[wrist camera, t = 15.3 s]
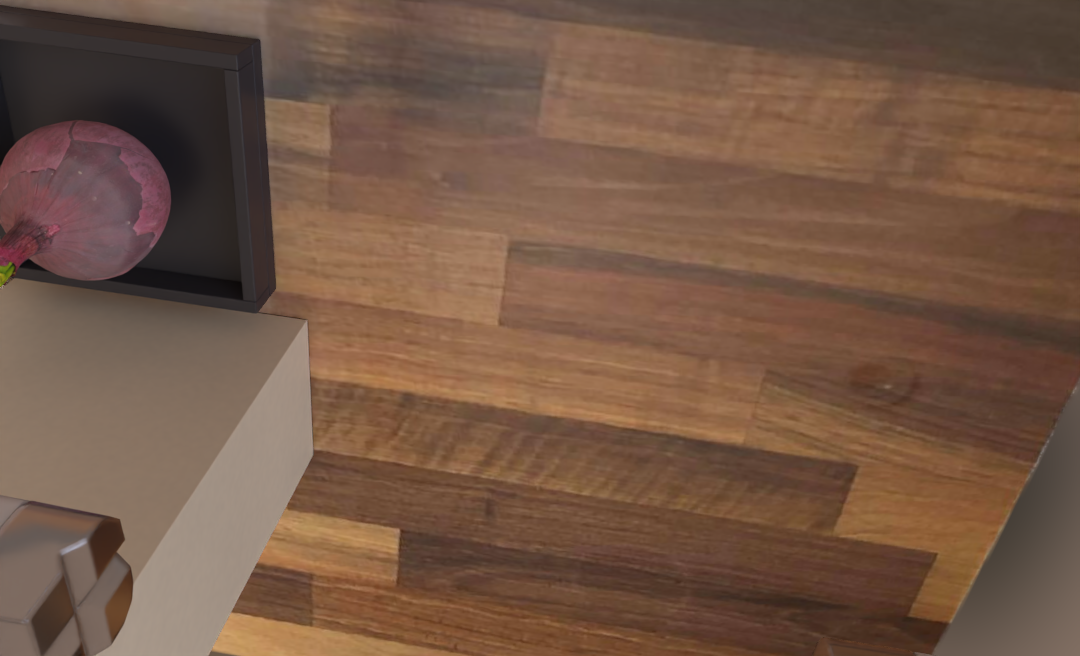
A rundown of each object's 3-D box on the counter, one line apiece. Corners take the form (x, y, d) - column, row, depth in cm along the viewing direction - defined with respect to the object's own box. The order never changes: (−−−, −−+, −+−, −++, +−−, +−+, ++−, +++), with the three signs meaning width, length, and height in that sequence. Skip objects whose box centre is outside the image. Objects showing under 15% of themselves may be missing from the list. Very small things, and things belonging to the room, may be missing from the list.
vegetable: (42, 175, 40) (-130, 287, 31) (92, 59, 37) (-82, 150, 28) (170, 256, 41) (38, 385, 33) (228, 151, 38) (100, 263, 30)
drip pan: (-15, 3, 37) (-54, 16, 35) (260, 39, 36) (236, 55, 34) (38, 254, 43) (8, 277, 41) (276, 289, 42) (256, 314, 40)
